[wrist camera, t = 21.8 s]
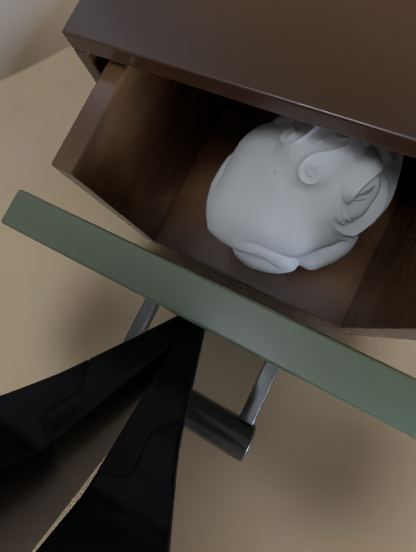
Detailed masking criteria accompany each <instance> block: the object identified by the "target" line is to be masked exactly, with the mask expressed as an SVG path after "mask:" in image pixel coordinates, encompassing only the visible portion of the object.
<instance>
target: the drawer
mask: <svg viewBox="0 0 416 552" xmlns="http://www.w3.org/2000/svg"><path fill="white" fill-rule="evenodd" d="M278 115H279V114H277V113H274V112H271V111H268V110H264V109H261V108H258V107H255V106H252V105H249V104H246V103H243V102H240V101H236V100H233V99H230V98H227V97H224V96H221V95H218V94H215V93H212V92H208V91H205V90H202V89H199V88H196V87H193V86H190V85H187V84H184V83H180V82H177V81H174V80H171V79H168V78H165V77H162V76H159V75H156V74H152V73H149V72H146V71H143V70H140V69H137V68H134V67H131V66H128V65H124V64H121V63H118V62H115V61H112V60H109V61H108V63H107V65H106V67H105V68H104V70H103V72H102V74H101V76H100V77H99V79H98V81H97V83H96V85H95V86H94V88H93V90H92V92H91V94H90V95H89V97H88V99H87V101H86V103H85V104H84V106H83V108H82V110H81V112H80V113H79V115H78V117H77V119H76V121H75V122H74V124H73V126H72V128H71V130H70V131H69V133H68V135H67V137H66V139H65V140H64V142H63V144H62V146H61V148H60V149H59V151H58V153H57V155H56V157H55V158H54V160H53V162H52V165H53V167H55V168H56V169H57V170H59V171H60V172H61V173H62V174H64V175H65V176H66V177H68V178H69V179H70V180H72V181H73V182H74V183H75V184H77V185H78V186H79V187H81V188H82V189H83V190H84V191H86V192H87V193H88V194H90V195H91V196H92V197H93V198H95V199H96V200H97V201H99V202H100V203H101V204H103V205H104V206H105V207H106V208H108V209H109V210H110V211H112V212H113V213H114V214H115V215H117V216H118V217H119V218H121V219H122V220H123V221H124V222H126V223H127V224H128V225H130V226H131V227H132V228H134V229H135V230H136V231H137V232H139V233H140V234H141V235H143V236H144V237H145V238H146V239H148V240H150V241H152V242H154V243H156V244H159V245H161V246H163V247H165V248H167V249H169V250H171V251H173V252H176V253H178V254H180V255H182V256H184V257H186V258H188V259H190V260H193V261H195V262H197V263H199V264H201V265H203V266H205V267H208V268H210V269H212V270H214V271H216V272H218V273H220V274H222V275H225V276H227V277H229V278H231V279H233V280H235V281H237V282H239V283H242V284H244V285H246V286H248V287H250V288H252V289H254V290H256V291H259V292H261V293H263V294H265V295H267V296H269V297H271V298H274V299H276V300H278V301H280V302H282V303H284V304H286V305H288V306H291V307H293V308H295V309H297V310H299V311H301V312H303V313H305V314H308V315H310V316H312V317H314V318H316V319H318V320H320V321H322V322H325V323H327V324H329V325H331V326H333V327H335V328H337V329H340V330H342V331H344V332H346V333H348V334H350V335H360V336H372V337H384V338H397V339H409V340H416V158H414V157H411V156H408V155H404V157H403V163H402V169H401V173H400V176H399V179H398V183H397V187H396V190H395V192H394V195H393V198H392V200H391V202H390V204H389V206H388V208H387V209H386V210H385V211H384V212H383V214H382V215H381V216H380V217H379V218H378V219H377V220H376V222H375V223H374V224H372V225H371V226H370V227H368V228H366V229H365V230H364V231H363V232H362V233H360V234H359V238H358V240H357V242H356V244H355V245H354V247H353V248H352V250H351V251H350V252H349V253H348V254H347V255H345V256H344V257H342V258H341V259H339V260H338V261H336V262H335V263H332V264H330V265H327V266H324V267H322V268H319V269H317V270H307V269H305V268H303V267H302V266H300V265H299V266H297V268H296V269H295V270H293V271H291V272H288V273H283V274H275V273H266V272H262V271H259V270H254V269H250V268H249V267H247V266H246V265H244V264H243V263H242V262H241V261H240V260H239V259H238V258H237V257H236V256H235V254H234V252H233V248H231V247H229V246H227V245H225V244H224V243H222V242H220V241H219V240H218V239H217V238H216V237H215V236H214V235H213V234H211V233H210V231H209V230H208V227H207V220H206V204H207V198H208V194H209V190H210V187H211V184H212V181H213V180H214V178H215V176H216V174H217V172H218V171H219V169H220V167H221V165H222V164H223V162H224V161H225V160H226V158H227V157H228V156H230V155H231V154H232V153H233V152H234V151H235V149H236V147H237V146H238V144H239V142H240V141H241V140H242V139H243V138H244V137H245V136H246V135H247V134H248V133H249V132H251V131H252V130H253V129H255V128H257V127H258V126H260V125H263V124H266V123H268V122H273V121H274V119H275V118H276V117H277V116H278ZM2 223H3V224H5V225H7V226H9V227H11V228H13V229H14V230H16V231H18V232H20V233H22V234H24V235H26V236H28V237H30V238H32V239H34V240H35V241H37V242H39V243H41V244H43V245H45V246H47V247H49V248H51V249H53V250H55V251H57V252H58V253H60V254H62V255H64V256H66V257H68V258H70V259H72V260H74V261H76V262H78V263H79V264H81V265H83V266H85V267H87V268H89V269H91V270H93V271H95V272H97V273H99V274H101V275H102V276H104V277H106V278H108V279H110V280H112V281H114V282H116V283H118V284H120V285H122V286H124V287H125V288H127V289H129V290H131V291H133V292H135V293H137V294H139V295H141V296H143V297H145V298H146V299H145V301H144V303H143V305H142V307H141V309H140V311H139V313H138V315H137V317H136V318H135V320H134V322H133V324H132V326H131V328H130V330H129V332H128V334H127V336H126V338H125V340H124V342H125V341H127V340H129V339H131V338H134V337H136V336H138V335H140V334H142V333H144V332H146V331H147V329H148V327H149V325H150V323H151V321H152V319H153V317H154V315H155V313H156V311H157V310H158V308H159V306H162V307H164V308H166V309H168V310H169V311H171V312H173V313H175V314H177V315H179V316H181V317H183V318H185V319H187V320H189V321H190V322H192V323H194V324H196V325H198V326H200V327H202V328H204V329H206V330H208V331H210V332H212V333H213V334H215V335H217V336H219V337H221V338H223V339H225V340H227V341H229V342H231V343H233V344H234V345H236V346H238V347H240V348H242V349H244V350H246V351H248V352H250V353H252V354H254V355H256V356H257V357H259V358H261V359H263V360H265V362H264V364H263V366H262V368H261V370H260V372H259V374H258V377H257V379H256V381H255V383H254V385H253V387H252V389H251V391H250V394H249V396H248V398H247V400H246V402H245V404H244V406H243V408H242V411H241V413H240V416H239V415H237V414H236V413H234V412H232V411H230V410H229V409H227V408H225V407H224V406H222V405H220V404H218V403H217V402H215V401H213V400H211V399H210V398H208V397H206V396H205V395H203V394H201V393H199V392H198V391H196V390H194V389H192V393H191V397H190V402H189V406H188V411H187V415H186V419H185V425H184V427H185V428H186V429H188V430H189V431H191V432H193V433H194V434H196V435H198V436H199V437H201V438H202V439H204V440H206V441H207V442H209V443H211V444H212V445H214V446H215V447H217V448H219V449H220V450H222V451H224V452H225V453H227V454H228V455H230V456H232V457H233V458H235V459H237V460H238V461H242V460H243V458H244V457H245V455H246V453H247V451H248V449H249V447H250V444H251V442H252V439H253V437H254V434H255V430H256V426H255V424H253V423H254V420H255V418H256V416H257V414H258V412H259V410H260V408H261V406H262V403H263V401H264V399H265V397H266V395H267V393H268V391H269V388H270V386H271V384H272V382H273V380H274V378H275V376H276V373H277V371H278V369H279V368H280V369H282V370H284V371H286V372H288V373H290V374H292V375H294V376H296V377H298V378H300V379H301V380H303V381H305V382H307V383H309V384H311V385H313V386H315V387H317V388H319V389H321V390H323V391H324V392H326V393H328V394H330V395H332V396H334V397H336V398H338V399H340V400H342V401H344V402H345V403H347V404H349V405H351V406H353V407H355V408H357V409H359V410H361V411H363V412H365V413H367V414H368V415H370V416H372V417H374V418H376V419H378V420H380V421H382V422H384V423H386V424H388V425H390V426H391V427H393V428H395V429H397V430H399V431H401V432H403V433H405V434H407V435H409V436H411V437H412V438H414V439H416V378H414V377H412V376H410V375H407V374H405V373H403V372H401V371H399V370H397V369H395V368H393V367H391V366H389V365H387V364H385V363H382V362H380V361H378V360H376V359H374V358H372V357H370V356H368V355H366V354H364V353H362V352H359V351H357V350H355V349H353V348H351V347H349V346H347V345H345V344H343V343H341V342H339V341H337V340H334V339H332V338H330V337H328V336H326V335H324V334H322V333H320V332H318V331H316V330H314V329H311V328H309V327H307V326H305V325H303V324H301V323H299V322H297V321H295V320H293V319H291V318H288V317H286V316H284V315H282V314H280V313H278V312H276V311H274V310H272V309H270V308H268V307H266V306H263V305H261V304H259V303H257V302H255V301H253V300H251V299H249V298H247V297H245V296H243V295H240V294H238V293H236V292H234V291H232V290H230V289H228V288H226V287H224V286H222V285H220V284H218V283H215V282H213V281H211V280H209V279H207V278H205V277H203V276H201V275H199V274H197V273H195V272H192V271H190V270H188V269H186V268H184V267H182V266H180V265H178V264H176V263H174V262H172V261H170V260H167V259H165V258H163V257H161V256H159V255H157V254H155V253H153V252H151V251H149V250H147V249H144V248H142V247H140V246H138V245H136V244H134V243H132V242H130V241H128V240H126V239H124V238H122V237H119V236H117V235H115V234H113V233H111V232H109V231H107V230H105V229H103V228H101V227H99V226H96V225H94V224H92V223H90V222H88V221H86V220H84V219H82V218H80V217H78V216H76V215H73V214H71V213H69V212H67V211H65V210H63V209H61V208H59V207H57V206H55V205H53V204H51V203H48V202H46V201H44V200H42V199H40V198H38V197H36V196H34V195H32V194H30V193H28V192H25V191H23V190H19V191H18V192H17V194H16V196H15V198H14V199H13V201H12V203H11V205H10V207H9V208H8V210H7V212H6V214H5V215H4V217H3V219H2Z"/></svg>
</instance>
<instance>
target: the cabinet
mask: <svg viewBox="0 0 416 552" xmlns="http://www.w3.org/2000/svg"><path fill="white" fill-rule="evenodd" d="M62 32H63V34H64V35H65V37H66V38H67V40H68V41H69V43H70V44H71V46H72V47H73V48H74V50H75V52H76V53H77V55H78V56H79V58H80V59H81V61H82V62H83V64H84V65H85V67H86V68H87V69H88V71H89V72H90V74H91V75H92V77H93V78H94V80H95V81H96V83H97V81H98V79H99V77H100V76H101V74H102V72H103V70H104V68H105V67H106V65H107V63H108V61H109V60H112V61H115V62H118V63H121V64H124V65H128V66H131V67H134V68H137V69H140V70H143V71H146V72H149V73H152V74H156V75H159V76H162V77H165V78H168V79H171V80H174V81H177V82H180V83H184V84H187V85H190V86H193V87H196V88H199V89H202V90H205V91H208V92H212V93H215V94H218V95H221V96H224V97H227V98H230V99H233V100H236V101H240V102H243V103H246V104H249V105H252V106H255V107H258V108H261V109H264V110H268V111H271V112H274V113H277V114H280V115H283V116H286V117H289V118H292V119H296V120H299V121H302V122H305V123H308V124H311V125H314V126H317V127H320V128H324V129H327V130H330V131H333V132H336V133H339V134H342V135H345V136H348V137H352V138H355V139H358V140H361V141H364V142H367V143H370V144H373V145H376V146H380V147H383V148H386V149H389V150H392V151H395V152H398V153H401V154H404V155H408V156H411V157H414V158H416V0H80V1H79V2H78V4H77V6H76V8H75V9H74V11H73V13H72V14H71V16H70V18H69V20H68V21H67V23H66V25H65V27H64V29H63V30H62Z"/></svg>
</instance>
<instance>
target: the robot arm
mask: <svg viewBox="0 0 416 552" xmlns="http://www.w3.org/2000/svg"><path fill="white" fill-rule="evenodd" d="M204 334H205V329H204V328H202V327H200V326H198V325H196V324H194V323H192V322H190V321H189V320H187V319H185V318H183V317H181V316H176V317H174V318H172V319H170V320H168V321H166V322H164V323H162V324H160V325H158V326H156V327H154V328H152V329H150V330H148V331H146V332H144V333H142V334H140V335H138V336H136V337H134V338H131V339H129V340H127V341H125V342H123V343H121V344H119V345H117V346H115V347H113V348H111V349H109V350H107V351H105V352H103V353H101V354H99V355H97V356H95V357H93V358H91V359H89V361H88V360H86V361H84V362H82V363H80V364H78V365H76V366H74V367H72V368H70V369H67V370H65V371H63V372H61V373H59V374H56V375H54V376H51V377H49V378H46V379H44V380H41V381H39V382H36V383H33V384H31V385H28V386H25V387H23V388H20V389H18V390H15V391H12V392H10V393H7V394H4V395H2V396H0V552H32V551H33V549H34V548H35V547H36V545H37V544H38V543H39V541H40V540H41V539H42V538H43V536H44V535H45V534H46V532H47V531H48V530H49V529H50V527H51V526H52V525H53V523H54V522H55V521H56V520H57V518H58V517H59V516H60V514H61V513H62V512H63V511H64V509H65V508H66V507H67V505H68V504H69V503H70V502H71V500H72V498H73V497H74V496H75V495H76V494H77V492H78V491H79V490H80V488H81V487H82V486H83V485H84V483H85V482H86V481H87V479H88V478H89V477H90V476H91V474H92V473H93V472H94V470H95V469H96V468H97V466H98V465H99V464H100V463H101V461H102V460H103V459H104V457H105V456H106V455H107V454H108V455H107V456H106V458H105V460H104V461H103V463H102V465H101V466H100V468H99V470H98V471H97V474H96V475H95V476H94V478H93V480H92V481H91V483H90V484H89V486H88V488H87V489H86V490H85V492H84V493H83V495H82V496H81V498H80V499H79V500H78V501H77V503H76V504H75V505H74V506H73V507H72V509H71V510H70V511H69V512H68V513H67V515H66V516H65V517H64V518H63V519H62V521H61V522H60V523H59V524H58V525H57V527H56V528H55V529H54V530H53V531H52V533H51V534H50V535H49V536H48V537H47V539H46V540H45V541H44V542H43V544H42V545H41V546H40V547H39V548H38V550H37V551H36V552H170V544H171V531H172V520H173V509H174V497H175V486H176V475H177V466H178V458H179V450H180V445H181V440H182V434H183V429H184V425H185V419H186V415H187V411H188V406H189V402H190V397H191V393H192V388H193V383H194V379H195V374H196V370H197V365H198V361H199V356H200V352H201V347H202V343H203V338H204ZM108 452H109V453H108Z"/></svg>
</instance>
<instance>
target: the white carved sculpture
mask: <svg viewBox="0 0 416 552" xmlns="http://www.w3.org/2000/svg"><path fill="white" fill-rule="evenodd" d="M403 157H404V154H401V153H398V152H395V151H392V150H389V149H386V148H383V147H380V146H376V145H373V144H370V143H367V142H364V141H361V140H358V139H355V138H352V137H348V136H345V135H342V134H339V133H336V132H333V131H330V130H327V129H324V128H320V127H317V126H314V125H311V124H308V123H305V122H302V121H299V120H296V119H292V118H289V117H286V116H283V115H280V114H279V115H278V116H277V117H276V118H275V119H274V121H273V122H268V123H266V124H263V125H260V126H258V127H257V128H255V129H253V130H252V131H251V132H249V133H248V134H247V135H246V136H245V137H244V138H243V139H242V140H241V141H240V142H239V144H238V146H237V147H236V149H235V151H234V152H233V153H232V154H231V155H230V156H228V157H227V158H226V160H225V161H224V162H223V164H222V165H221V167H220V169H219V171H218V172H217V174H216V176H215V178H214V180H213V181H212V184H211V187H210V190H209V194H208V198H207V204H206V220H207V227H208V230H209V231H210V233H211V234H213V235H214V236H215V237H216V238H217V239H218V240H219V241H220V242H222V243H224V244H225V245H227V246H229V247H231V248H233V252H234V254H235V256H236V257H237V258H238V259H239V260H240V261H241V262H242V263H243V264H244V265H246V266H247V267H249V268H250V269H254V270H259V271H262V272H266V273H275V274H283V273H288V272H291V271H293V270H295V269H296V268H297V266H299V265H300V266H302V267H303V268H305V269H307V270H317V269H319V268H322V267H324V266H327V265H330V264H332V263H335V262H336V261H338V260H339V259H341V258H342V257H344V256H345V255H347V254H348V253H349V252H350V251H351V250H352V248H353V247H354V245H355V244H356V242H357V240H358V238H359V234H360V233H362V232H363V231H364V230H365V229H366V228H368V227H370V226H371V225H372V224H374V223H375V222H376V220H377V219H378V218H379V217H380V216H381V215H382V214H383V212H384V211H385V210H386V209H387V208H388V206H389V204H390V202H391V200H392V198H393V195H394V192H395V190H396V187H397V183H398V179H399V176H400V173H401V169H402V163H403Z"/></svg>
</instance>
